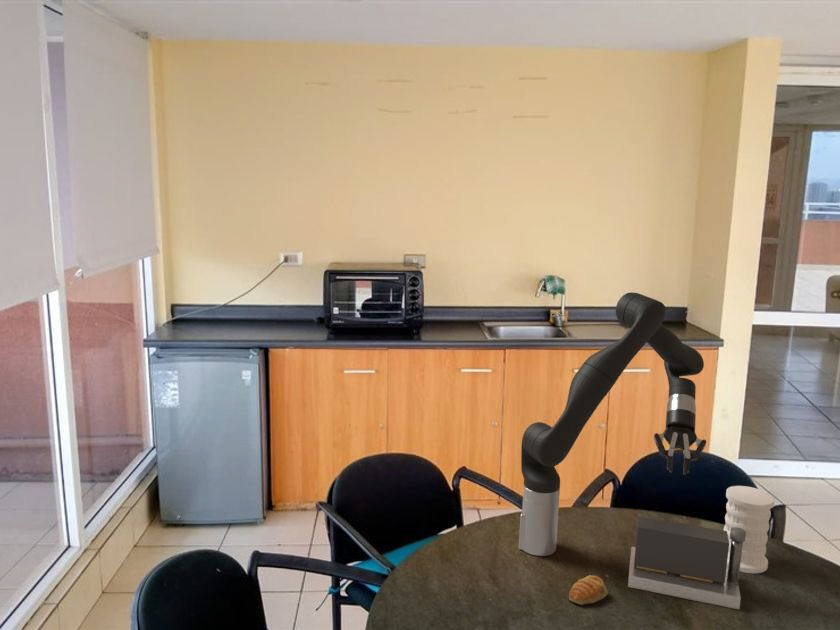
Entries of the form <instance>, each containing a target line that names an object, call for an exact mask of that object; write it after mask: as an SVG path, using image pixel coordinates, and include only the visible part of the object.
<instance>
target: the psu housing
mask: <svg viewBox="0 0 840 630" xmlns="http://www.w3.org/2000/svg"><path fill="white" fill-rule="evenodd" d="M742 546H743V542H736V541H733V540H731V549H730V558H729V565H728V564H727V568H726V577H725V583H721V582H716V581H711V580H706V579H701V578H696V577H691V576H686V575H680V574H675V573H670V572H665V571H660V570H655V569H650V568H645V567H639V566H634V561H635V548H636V546H631V548H630V557H629V558H630V561H629V570H628V579H627V580H628V581H627V588H630V589H631V588H632V589H637V590H642V591H645V592H646V591H647V592H652V593H657V594H660V595H661V594H662V595H666V596H670V597H674V598H675V597H676V598H680V599H685V600H691V601H695V602H700V603H703V604H704V603H706V604H710V605H715V606H720V607H725V608H728V609H735V610H740V609H741V608H740V607H741V600H742V599H741V598H742V597H741V592H740V587H739V581H740V580H739V579H740V563H741V555H742Z"/></svg>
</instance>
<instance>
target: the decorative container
mask: <svg viewBox="0 0 840 630" xmlns="http://www.w3.org/2000/svg"><path fill="white" fill-rule="evenodd" d="M725 497H726V499H727V502H726V504H725V505H726V506H725V508H726V514H724V515H725V516H724V520H725V521H724V522H725V524H724V527H723V531H727V534H728V539H729V550H728V559H727V564H728V565H729V558H730V549H731V540H732V539H731V538H730V532H731V528H733V527H737V528H741V529H743V530H745V531H746V537H745V541H744V542H743V546H742V555H741V563H740V572H741V573H745V574H746V573H747V574H761V573H764V572H766V571H767V570H768V568H769V560H768V559H767V557H766V554H767V546H766V545H767V542H768V541H769V535H768V531H769V529H770V523H769V521H770V519H771V516H772V513H771V512H772V511H771V509H773V507H774V506H775V497H773V495H772V494H770V493H769V492H766V491H765V490H762V489H760V488H755V487H752V486H747V485H746V486H745V485H731V486H729V487H727V488H726V492H725ZM740 572H739V573H740Z"/></svg>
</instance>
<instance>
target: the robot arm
mask: <svg viewBox="0 0 840 630" xmlns="http://www.w3.org/2000/svg"><path fill="white" fill-rule="evenodd" d="M666 314H667V309H666V305H665V304H664V303H663V302H661V301H660V300H657V299H655V298H653V297H649V296H647V295H644V294H641V293H639V292H638V293H637V292H634V291H632V292H627V293H625V294H623V295H622V296H621V297H620V298H619V300H618V301H617V304H616V307H615V316H616V318H617V321H618V322H619V323H621V324H622V325H623V326H625V327H626V328H629V329H628V331H627V332H626V333H625V334H624V335H623V336H622V337H621V338H620V339H618V340H617V341H616V342H613V344H609V346H606V347H604V348H602V349H600V350H598V351H596V352H595V353H593V354H591V355H590V356H589V357H587V359H586V360H585V361H584V362H583V363H582V365H581V366H580V368H579V369H578V370H577V372H576V373H575V374H574V376H573V378H572V380H571V382H570V385H569V389H568V394H567V395H568V396H567V401H566V404H565V407H564V410H563V412H562V414H561V415H560V417H559V418H558V420H557V421H556V423H554V425H553V426H551V425H549V424H547V423H545V422H541V421H538V422H534V423H532V424H530V425H528V427H526V429H525V430H524V433H523V435H522V440H521V448H520V449H521V450H520V451H521V453H520V458H521V459H520V460H521V461H520V463H521V464H520V467H521V468H520V469H521V474H522V477H523V487H522V488H523V491H522V493H523V494H522V511H521V512H520V513H521V514H519V515H520V516H519V517H520V518H519V520H520V521H519V534H518V535H519V536H518V537H519V538H518V550H522V551H523V552H525V553H527V554H530V555H532V556H538V557H546V556H551V555H553V554H554V553H555V552H556V551H557V544H558V543H557V542H558V541H557V538H558V526H559V525H558V524H559V523H558V522H559V510H560V509H559V506H560V495H561V493H560V490H561V478H560V474H559V473H558V471H557V470H556V467H557V465H559V464H560V463H562V462H563V461H564V460H565V458H566V457H567V456H568V454H569V453H570V451H571V450H572V447H573V446H574V444H575V443H576V441H577V439H578V437H579V435H580V434H581V432H582V430H583V429H584V427H585V425H586V424H587V423H588V421H589V419H590V418H591V417H592V416H593V414H594V413H595V411H596V409H597V408H598V407H599V406H600V404H601V403H602V401H603V400H604V399H605V397H606V396H607V395H608V394H609V393H610V391H611V390H612V388H613V387H614V385H615V384H616V383H617V382H618V380H619V378H620V376H621V375H622V374H623V372H624V371H625V370H626V368H627V367H628V365H629V364H630V363H631V361H632V360H633V359H634V358H635V356H636V355H637V354H638V353H639V352H640V350H641V349H642V348H644V346H645V345H646V344H648V346H650V347H651V348H652V349H653V351H655V352H656V354H657V355H658V356H659V357H660V358H661V359H662V360H663V366H664V370H665V373H666V376H667V383H668V397H667V398H668V400H667V402H666V403H667V404H666V410H665V411H666V415H665V417H666V418H665V429H664V430H663V432H662V433H657V432H656V433H654V435H653V441H654V443H655V445H656V447H657V450H658V452H659V455H660V456H661V457H663V458H666V460H667V461H666V469H667V471H669V474H673V471H674V470H673V469H674V468H673V467H674V452H675V450H682V451H683V458H684V460H683V468H682V469H683V472H682V473H683V474H682V475H683V476H684V475H685V476H687V474H689V473H690V465H691V464H690V463H691V462H697V460H698V459H699V458H700V456H701V454H702V452H703V451H704V449H705V447H706V446H707V440H706V439H701V438H699V437H698V436H697V434H696V417H697V416H696V415H697V413H696V411H697V407H696V405H697V404H696V393H697V392H696V391H697V390H696V384H695V382H694V381H693V380H692V379H690V378H686V377H687V376H689V377H690V376H695V375H699V374H701V373H702V371H703V369H704V366H705V362H704V358H703V357H702V355H701V353H700V352H699V351H698V350H697V349H694V348H693V347H691V346H689V345H688V344H686V343H683V342H682V340H681V339H680V338H679V337H678V336H677V335H676V334H675V333H674V331H672V330H670V329H669V328H668V327H667V326H664V325H663V324H662V323H663V322H664V320H665V317H666ZM664 439H665V441H666V442H667V444H668V445H669V448H668V450H666V448H665V446H664V443H663V441H664ZM695 443H696V444H695ZM693 444H695V446H696V449H695V451H694V452H693V453H692V454H691V451H690V450H691V449H690V447H692V445H693Z"/></svg>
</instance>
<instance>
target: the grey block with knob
mask: <svg viewBox="0 0 840 630" xmlns="http://www.w3.org/2000/svg"><path fill="white" fill-rule="evenodd" d="M636 527H637V528H636V537H635V547H636V548H635V561H634V566H639V567H645V568H650V569H655V570H660V571H665V572H670V573H675V574H680V575H686V576H691V577H696V578H701V579H706V580H711V581H716V582H721V583H725V577H726V568H727V559H728V550H729V539H728V534H727V531H724V529H723V530H722V529H717V528H711V527H705V526H700V525H693V524H687V523H681V522H677V521H670V520H664V519H658V518H652V517H647V516H641V515H638V516H637V526H636ZM745 537H746V531H745V530H743V529H741V528H737V527H733V528H731V532H730V538H731V539H732V540H733V541H736V542H744V541H745Z"/></svg>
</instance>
